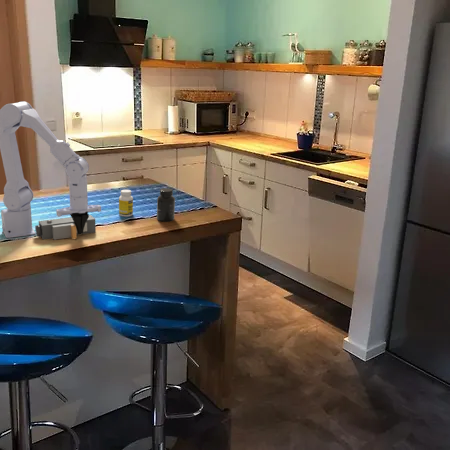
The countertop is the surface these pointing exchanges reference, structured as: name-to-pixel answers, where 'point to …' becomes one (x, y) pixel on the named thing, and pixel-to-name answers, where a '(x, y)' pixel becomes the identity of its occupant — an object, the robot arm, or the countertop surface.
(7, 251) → the countertop surface
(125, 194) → the supplement bottle
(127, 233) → the countertop surface
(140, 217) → the countertop surface
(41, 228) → the gray sliding door box
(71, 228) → the side door
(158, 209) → the supplement bottle
